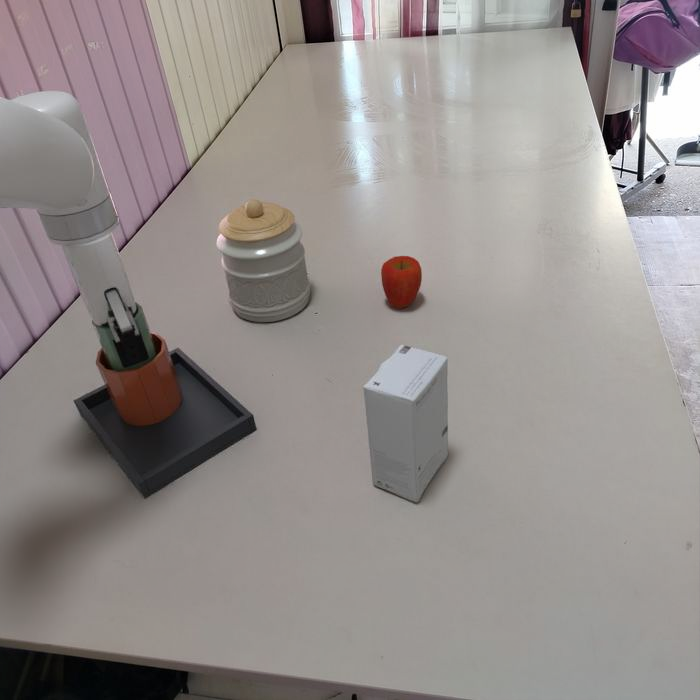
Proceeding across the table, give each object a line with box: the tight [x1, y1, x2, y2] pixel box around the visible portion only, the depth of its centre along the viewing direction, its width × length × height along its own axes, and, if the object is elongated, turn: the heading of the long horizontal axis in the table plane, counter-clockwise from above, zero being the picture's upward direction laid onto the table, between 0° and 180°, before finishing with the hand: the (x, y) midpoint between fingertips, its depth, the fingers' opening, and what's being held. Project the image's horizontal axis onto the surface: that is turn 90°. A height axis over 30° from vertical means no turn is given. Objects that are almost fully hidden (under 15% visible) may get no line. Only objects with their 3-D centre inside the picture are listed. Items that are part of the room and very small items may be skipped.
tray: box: [73, 347, 257, 499], centre depth 82 cm, size 16×20×3 cm
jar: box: [216, 198, 311, 323], centre depth 98 cm, size 13×13×18 cm
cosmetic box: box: [363, 344, 449, 504], centre depth 68 cm, size 8×6×15 cm
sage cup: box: [91, 301, 158, 372], centre depth 78 cm, size 6×6×8 cm
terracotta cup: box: [95, 331, 182, 426], centre depth 82 cm, size 8×8×9 cm
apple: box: [380, 255, 423, 309], centre depth 97 cm, size 6×6×8 cm
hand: (128, 347), depth 79 cm, fingers closed on sage cup, 5 cm apart
